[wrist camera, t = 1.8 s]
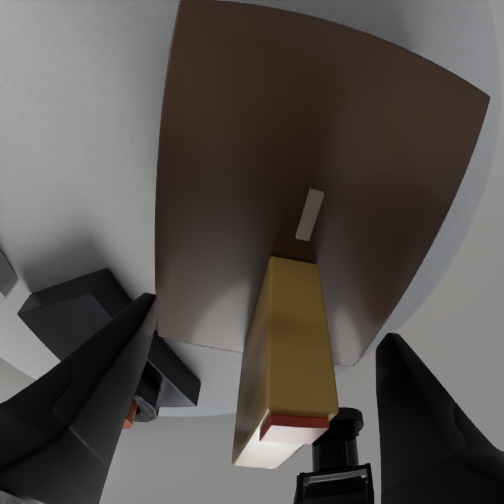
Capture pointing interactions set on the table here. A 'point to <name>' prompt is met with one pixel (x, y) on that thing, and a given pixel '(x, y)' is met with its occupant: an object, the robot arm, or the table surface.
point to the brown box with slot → (299, 169)
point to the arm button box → (95, 317)
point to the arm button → (130, 416)
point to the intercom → (6, 278)
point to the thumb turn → (285, 368)
